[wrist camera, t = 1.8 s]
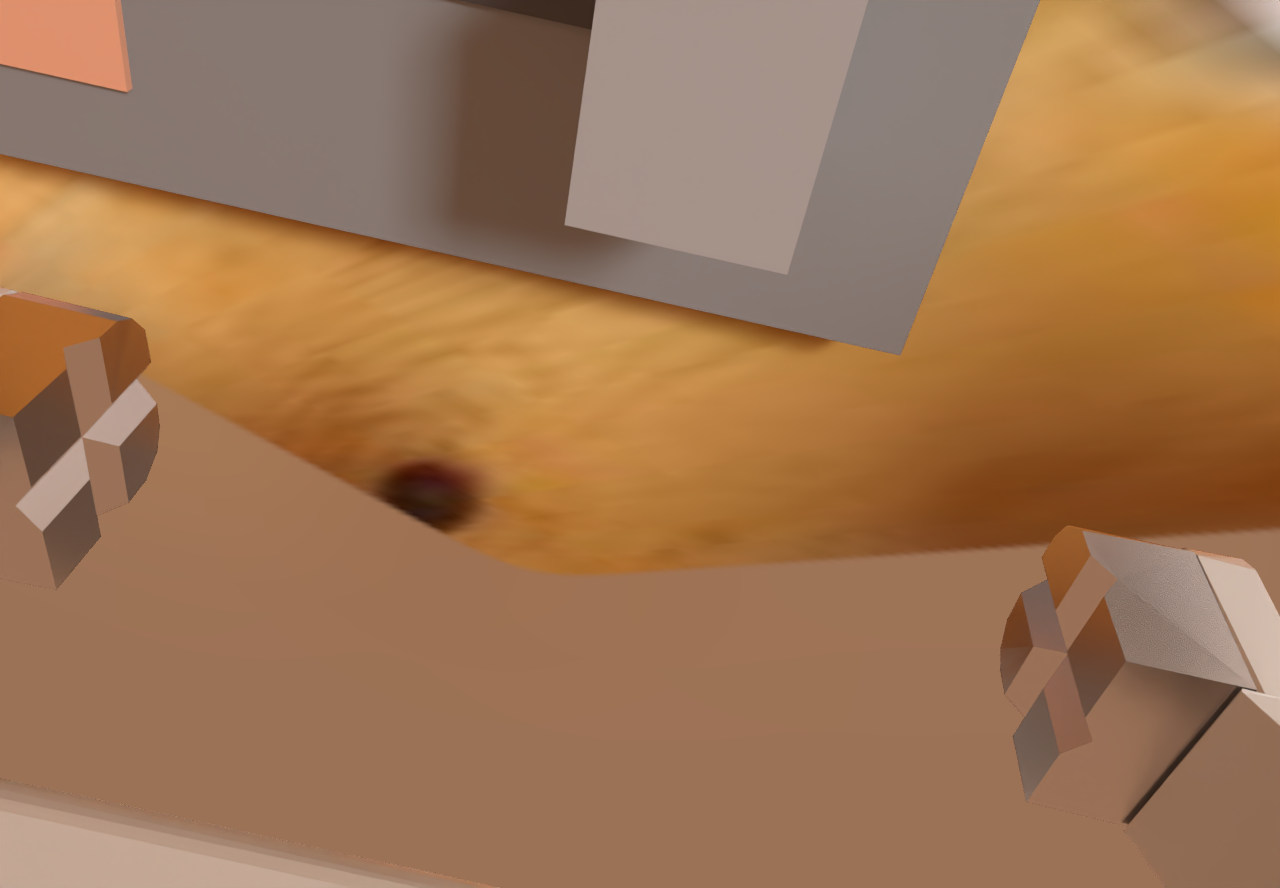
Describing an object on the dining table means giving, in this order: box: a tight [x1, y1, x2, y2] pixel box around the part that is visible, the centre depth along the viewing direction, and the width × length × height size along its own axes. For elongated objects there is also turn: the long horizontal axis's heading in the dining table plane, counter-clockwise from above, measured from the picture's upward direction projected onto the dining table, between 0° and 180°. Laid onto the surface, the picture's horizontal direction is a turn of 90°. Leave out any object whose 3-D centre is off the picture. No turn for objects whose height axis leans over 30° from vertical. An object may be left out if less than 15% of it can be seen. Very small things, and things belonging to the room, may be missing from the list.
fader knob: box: [565, 0, 868, 275], centre depth 19 cm, size 4×5×5 cm
